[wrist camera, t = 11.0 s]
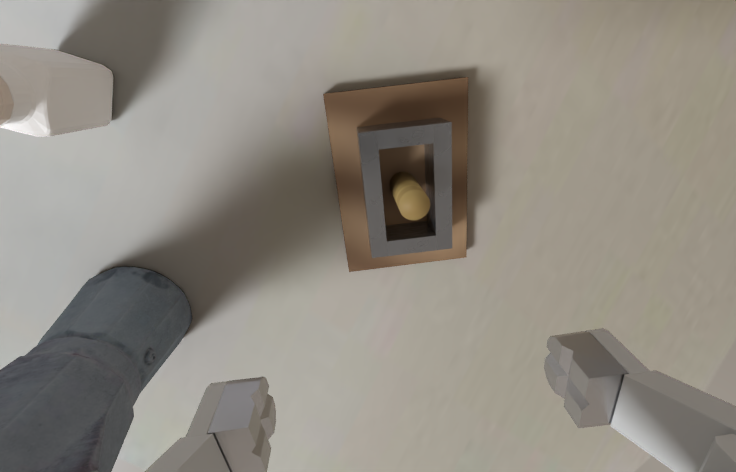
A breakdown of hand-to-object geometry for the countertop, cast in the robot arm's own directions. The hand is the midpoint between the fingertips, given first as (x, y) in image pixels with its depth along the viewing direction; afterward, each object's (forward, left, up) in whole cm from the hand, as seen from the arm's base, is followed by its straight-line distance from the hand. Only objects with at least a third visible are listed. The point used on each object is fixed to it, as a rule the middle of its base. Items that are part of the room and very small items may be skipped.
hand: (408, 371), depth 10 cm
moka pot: (+9, -21, -20) cm, 30 cm away
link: (0, +3, -18) cm, 19 cm away
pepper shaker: (-9, -18, -20) cm, 28 cm away
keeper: (0, +3, -19) cm, 20 cm away
